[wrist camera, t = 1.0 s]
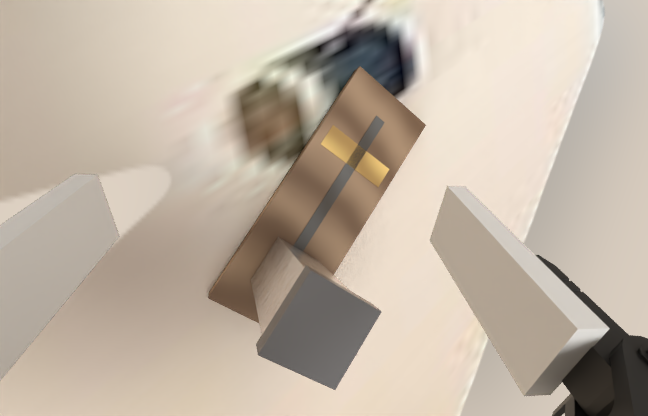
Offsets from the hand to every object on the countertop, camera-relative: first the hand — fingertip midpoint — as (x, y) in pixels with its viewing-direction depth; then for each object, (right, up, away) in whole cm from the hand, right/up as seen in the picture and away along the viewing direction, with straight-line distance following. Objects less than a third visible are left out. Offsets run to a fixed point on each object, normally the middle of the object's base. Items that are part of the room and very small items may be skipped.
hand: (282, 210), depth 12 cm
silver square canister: (-2, -6, +19) cm, 20 cm away
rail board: (+1, +1, +21) cm, 21 cm away
